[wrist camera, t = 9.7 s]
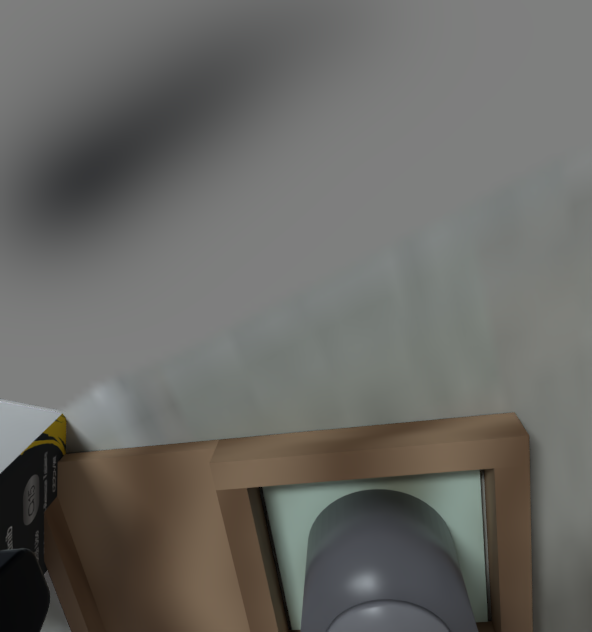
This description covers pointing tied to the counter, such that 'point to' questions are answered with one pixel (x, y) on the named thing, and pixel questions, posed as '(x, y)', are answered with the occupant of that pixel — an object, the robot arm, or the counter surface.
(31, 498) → the medicine bottle
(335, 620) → the cap
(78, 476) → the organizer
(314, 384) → the counter surface
